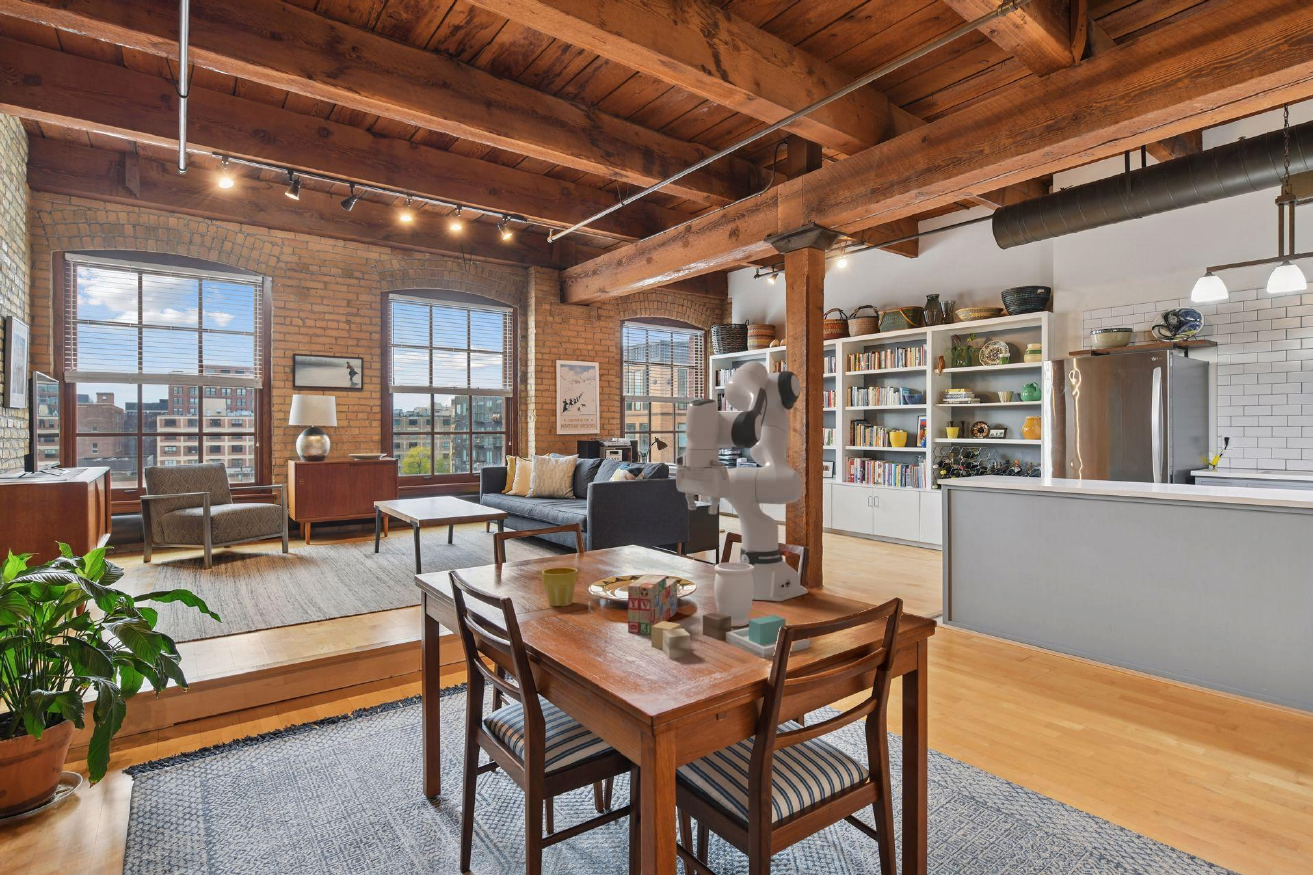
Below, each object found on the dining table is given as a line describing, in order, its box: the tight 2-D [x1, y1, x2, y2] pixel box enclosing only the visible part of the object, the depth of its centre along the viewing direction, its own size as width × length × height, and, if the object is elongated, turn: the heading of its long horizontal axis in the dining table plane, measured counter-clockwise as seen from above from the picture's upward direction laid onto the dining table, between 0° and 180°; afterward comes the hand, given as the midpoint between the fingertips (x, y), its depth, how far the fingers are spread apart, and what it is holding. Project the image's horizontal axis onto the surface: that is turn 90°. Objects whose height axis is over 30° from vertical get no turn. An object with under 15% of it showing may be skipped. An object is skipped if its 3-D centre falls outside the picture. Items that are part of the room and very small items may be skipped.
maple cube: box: [662, 628, 691, 660], centre depth 155 cm, size 5×5×5 cm
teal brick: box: [748, 614, 787, 645], centre depth 161 cm, size 8×4×5 cm, turn 121°
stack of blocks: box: [627, 574, 678, 636], centre depth 179 cm, size 21×6×12 cm, turn 160°
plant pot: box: [541, 566, 579, 607], centre depth 197 cm, size 10×10×10 cm
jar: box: [713, 561, 754, 627], centre depth 178 cm, size 11×10×15 cm
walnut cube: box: [702, 610, 732, 640], centre depth 168 cm, size 5×5×5 cm
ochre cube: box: [651, 621, 682, 650], centre depth 160 cm, size 5×5×5 cm
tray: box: [725, 627, 811, 659], centre depth 161 cm, size 14×14×2 cm
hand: (702, 511), depth 180 cm, fingers open, 8 cm apart
